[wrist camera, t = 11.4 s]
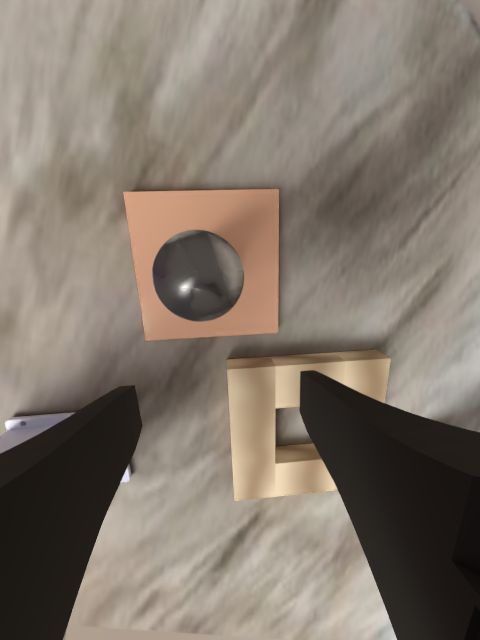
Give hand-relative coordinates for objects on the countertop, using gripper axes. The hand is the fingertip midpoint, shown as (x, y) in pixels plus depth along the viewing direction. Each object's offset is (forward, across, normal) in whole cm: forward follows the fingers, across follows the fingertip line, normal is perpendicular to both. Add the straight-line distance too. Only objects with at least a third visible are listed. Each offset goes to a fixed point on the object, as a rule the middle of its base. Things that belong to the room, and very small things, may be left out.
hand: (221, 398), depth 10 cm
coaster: (+10, +1, -5) cm, 12 cm away
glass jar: (+10, +1, -5) cm, 11 cm away
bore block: (+10, -7, +10) cm, 16 cm away
